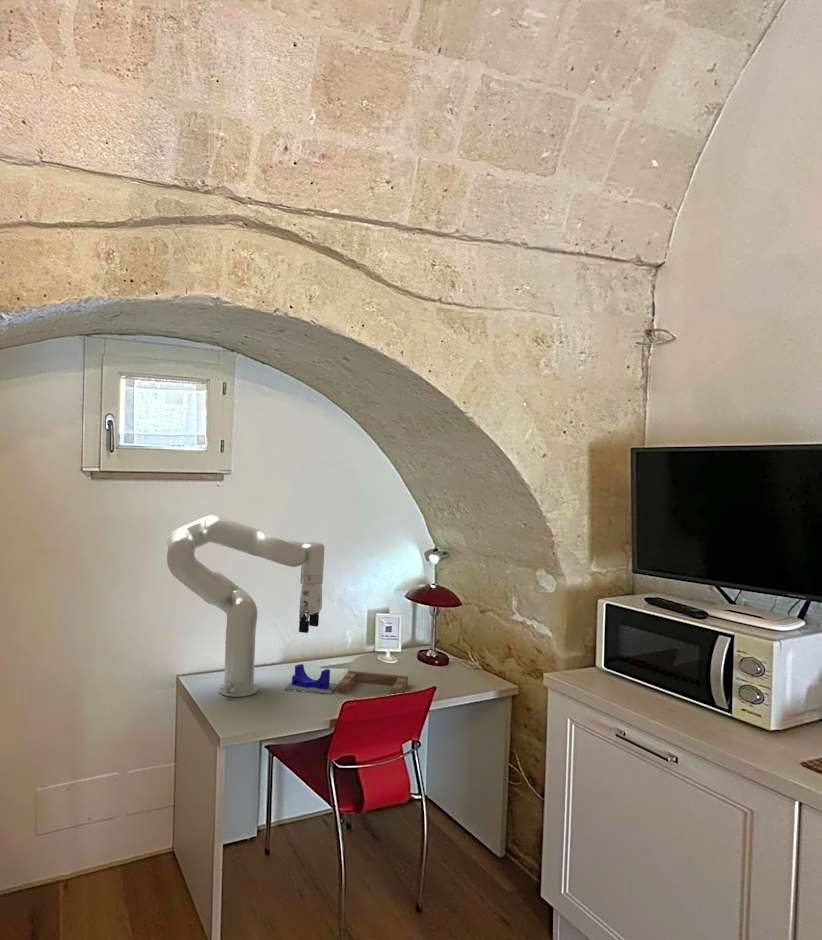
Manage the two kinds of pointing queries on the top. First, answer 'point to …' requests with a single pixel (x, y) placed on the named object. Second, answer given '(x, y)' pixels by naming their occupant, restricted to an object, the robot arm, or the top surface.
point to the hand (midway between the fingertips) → (308, 629)
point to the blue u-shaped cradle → (305, 681)
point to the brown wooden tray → (372, 681)
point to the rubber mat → (310, 689)
